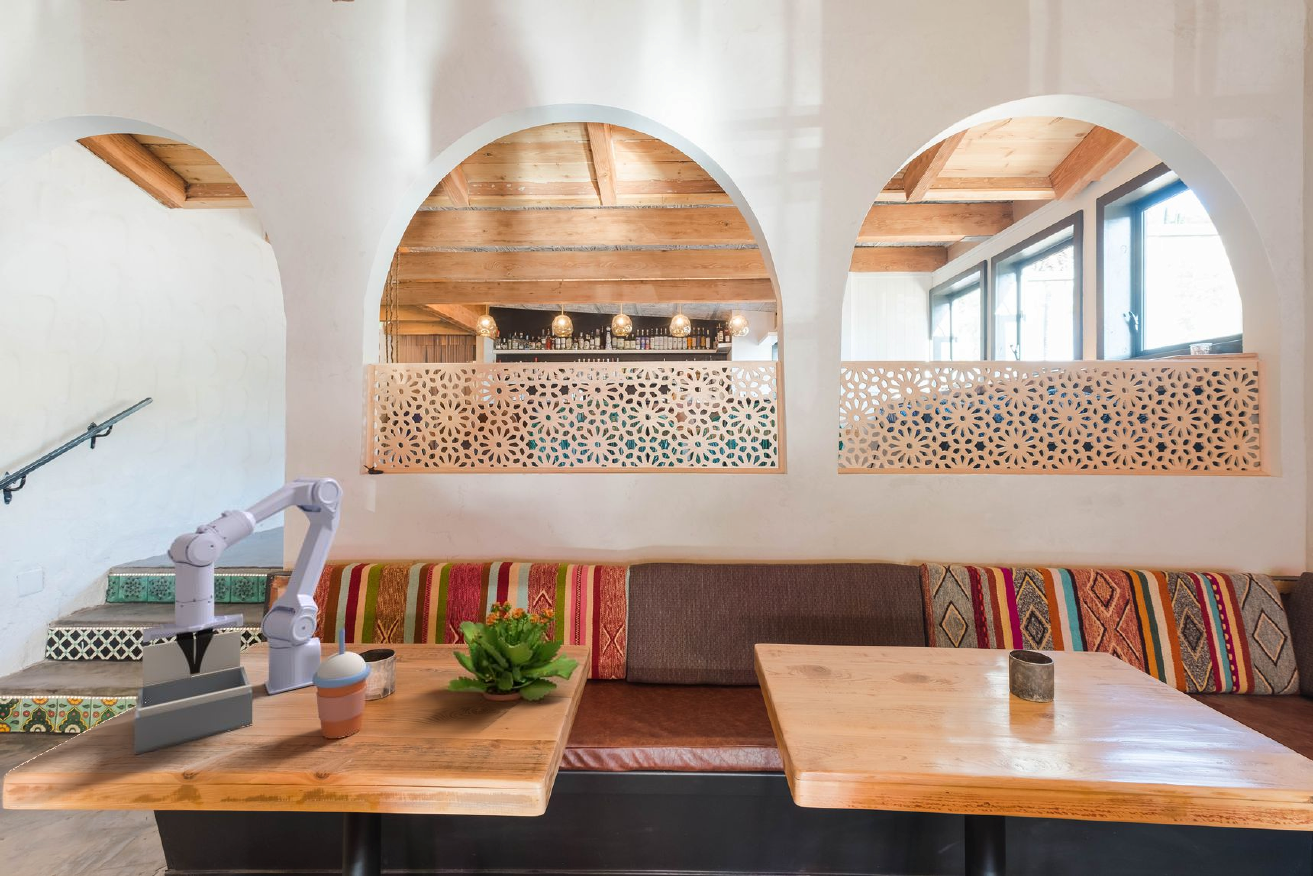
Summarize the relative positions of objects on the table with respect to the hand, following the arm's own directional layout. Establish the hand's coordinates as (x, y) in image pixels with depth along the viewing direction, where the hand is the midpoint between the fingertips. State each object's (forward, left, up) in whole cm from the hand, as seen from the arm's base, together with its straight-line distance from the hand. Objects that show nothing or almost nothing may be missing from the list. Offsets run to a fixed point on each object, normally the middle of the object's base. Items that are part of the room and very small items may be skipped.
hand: (194, 672), depth 109 cm
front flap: (0, +13, -1) cm, 13 cm away
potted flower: (-49, +25, -9) cm, 56 cm away
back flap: (0, -6, +1) cm, 6 cm away
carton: (0, +1, -9) cm, 9 cm away
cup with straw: (-20, +22, -9) cm, 31 cm away
